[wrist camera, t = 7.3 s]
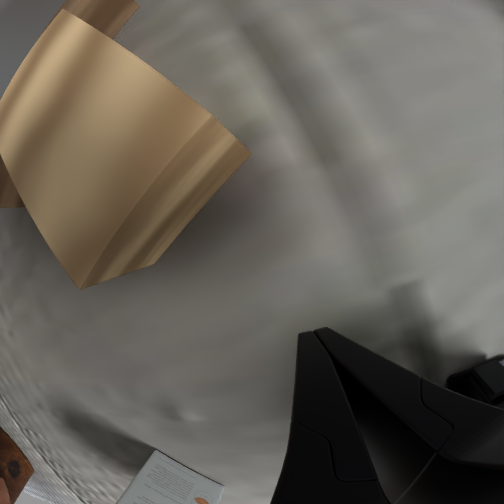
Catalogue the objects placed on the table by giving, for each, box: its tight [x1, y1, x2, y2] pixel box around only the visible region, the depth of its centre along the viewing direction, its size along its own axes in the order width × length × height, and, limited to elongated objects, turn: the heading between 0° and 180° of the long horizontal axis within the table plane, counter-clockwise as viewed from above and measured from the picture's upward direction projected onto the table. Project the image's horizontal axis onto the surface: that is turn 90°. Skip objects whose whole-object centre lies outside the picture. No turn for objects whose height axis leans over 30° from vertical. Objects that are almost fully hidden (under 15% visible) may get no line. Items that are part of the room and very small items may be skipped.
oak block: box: [0, 9, 252, 290], centre depth 15 cm, size 16×10×8 cm, turn 46°
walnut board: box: [0, 0, 140, 208], centre depth 17 cm, size 2×22×6 cm, turn 145°
